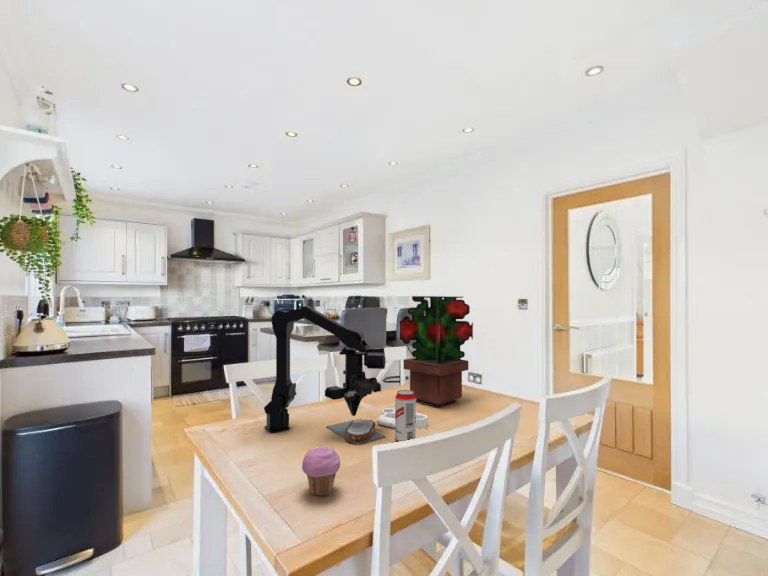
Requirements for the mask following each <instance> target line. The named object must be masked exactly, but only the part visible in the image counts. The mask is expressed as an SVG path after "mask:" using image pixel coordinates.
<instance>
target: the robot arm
mask: <svg viewBox="0 0 768 576" xmlns="http://www.w3.org/2000/svg"><path fill="white" fill-rule="evenodd" d="M303 319H306V320H307V321H308V322H310V323H313V324H314V325H316V326H318V327H320V328H322V329H324V330H325V331H326V332H328V333H331V334H332V335H334V336H335V337H336V338H337V339H338V340H339V341H340V342H341V343H342V344H343V345H345V346H344V347H343V348H342V350H340V351H339V355H340V356H341V355H342V356H345V359H344V360H345V363H344V365H345V366H344V367H345V368H344V370H342V372H343V373H342V374H343V375H344V377H345V378H344V381H345V382H343V383H342V386H343V387H340V386H337V385H333V386H327V387H326V388H325V390H324V396H325V397H326V398H328V399H331V400H335V401H336V400H341V399H344V401H345V403H346V405H347V408H348V410H349V412H350V415H351V416H352V417H355V416H357V415H356V414H357V413H358V409H359V408H360V404H361V402H362V400H363V399H364V398H365V397H367V396H368V395H369V396H370V395H372V394H373V393H378V392H381V391H382V385H381V384H380V382H379V381H378V379H377V377H369V378H367V377H366V371H363V369H364V368H363V365H364V366H365V367H366V368H367V370H369V369H370V370H371V369H373V370H375V369H376V370H385V368H386V354H385V347H379V348H378V347H377V348H376V347H375V348H374V347H370V345H368V343H367V341H366V340H365V336H364V333H363V331H361V330H359V329H357V328H355V327H351V326H348V325H345V324H342V323H339V322H337V321H336V320H334V319H332V318H330V316H329V317H328V316H327V315H325V314H324V313H321V312H320V311H318V310H316V309H315V308H314V307H312V306H310V305H306V306H305V305H304V306H302V307H298V308H295V309H292V310H280V311H279V310H278V311H276V312H274V313H273V314H272V316H271V326H272V331H273V333H274V336H275V339H276V340H275V342H276V343H275V346H276V348H275V356H276V357H275V361H276V362H275V363H276V364H275V365H276V367H275V383H274V385H273V388H272V392H271V397H270V401H269V402H268V403H267V404H266V405H265V406H264V407H263V409H264V410H263V411H264V413H265V414H266V425H264V429H266V431H268V432H269V433H271V434H274V433H278V432H282V431H287V430H290V429H291V428H290V412H289V409H288V408H289V407H290V404H291V403H292V402H293V401H294V400H295V396H297V392H296V388H297V383H296V382H294V383H293V382H292V379H291V335H292V332H293V331H294V326H295V322H298V321H301V320H303Z"/></svg>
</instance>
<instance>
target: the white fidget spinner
mask: <svg viewBox="0 0 768 576" xmlns="http://www.w3.org/2000/svg"><path fill="white" fill-rule="evenodd" d="M376 424H377V425H379V426H384V427H389V428H391V429H395V408H392V407H387V408H383V409H382V410H381V415H380V416H378V418H377V419H376ZM427 427H428V415H426V414H423V413H419V412H418V411H416V429H424V428H427Z"/></svg>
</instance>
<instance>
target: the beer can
mask: <svg viewBox="0 0 768 576" xmlns="http://www.w3.org/2000/svg"><path fill="white" fill-rule="evenodd" d="M394 397H395V399H394V401H395V402H394V403H395V404H394V407H395V408H394V409H395V428H394V443H395V442H399V441H406V440H410V439H415V438H416V437H417V436H416V434H417V432H416V431H417V430H416V429H417V428H416V412H417V409H416V407H417V405H416V403H417V401H416V398H415V395H414V392H413V391H411V390H410V389H400V390H397V391H396V395H395V396H394ZM416 439H417V438H416Z"/></svg>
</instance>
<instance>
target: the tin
mask: <svg viewBox="0 0 768 576" xmlns="http://www.w3.org/2000/svg"><path fill="white" fill-rule="evenodd" d="M353 420H354V421H352V422H351V423H350V425H349V426H348V427H347V429H346V431H345V438H344V440H345V441H346V442H349V443H352V444H353V443H363V444H365V443H364V442H367V441H369V440H371V438H372V436H373V434H374V432H375V431H376V422H375V421H374V420H372V419H362V418H359V419H353ZM367 443H368V442H367Z"/></svg>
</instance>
